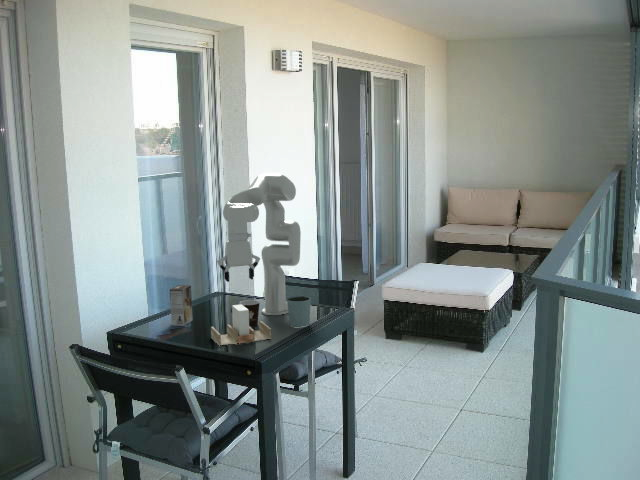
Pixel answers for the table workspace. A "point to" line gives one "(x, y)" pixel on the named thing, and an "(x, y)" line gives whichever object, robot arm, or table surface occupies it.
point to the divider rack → (234, 338)
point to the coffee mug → (251, 311)
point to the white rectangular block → (240, 319)
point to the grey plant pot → (299, 310)
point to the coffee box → (181, 305)
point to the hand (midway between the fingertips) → (239, 279)
